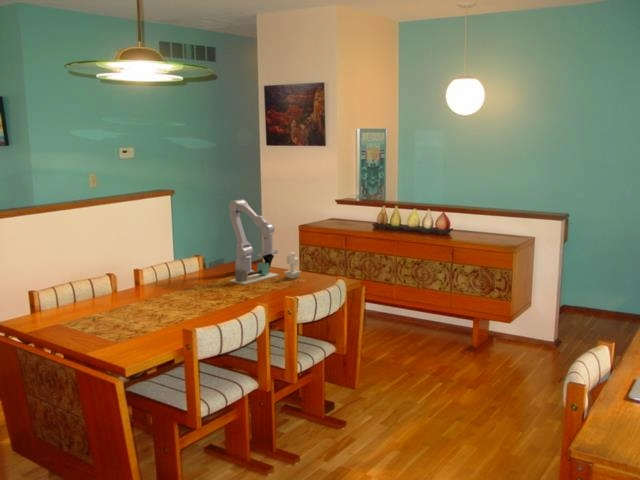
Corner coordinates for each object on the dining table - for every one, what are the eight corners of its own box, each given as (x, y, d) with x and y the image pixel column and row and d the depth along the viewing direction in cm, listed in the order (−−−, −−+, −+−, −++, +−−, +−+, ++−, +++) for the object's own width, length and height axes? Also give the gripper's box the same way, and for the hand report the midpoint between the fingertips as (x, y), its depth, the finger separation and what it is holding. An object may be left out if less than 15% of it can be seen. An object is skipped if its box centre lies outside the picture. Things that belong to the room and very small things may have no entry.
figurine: (302, 276, 376) (302, 251, 373) (293, 280, 368) (292, 254, 365) (292, 275, 380) (292, 250, 377) (283, 278, 372) (282, 253, 369)
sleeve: (257, 274, 376) (257, 263, 375) (264, 272, 380) (263, 262, 379) (263, 275, 373) (262, 264, 372) (269, 273, 377) (269, 263, 376)
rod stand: (230, 281, 365) (229, 269, 364) (265, 272, 386) (265, 261, 385) (244, 284, 357) (244, 273, 356) (279, 275, 378) (279, 264, 377)
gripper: (263, 247, 368) (264, 270, 371) (281, 243, 379) (281, 265, 382) (255, 245, 373) (255, 268, 375) (272, 242, 384) (273, 264, 386)
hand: (268, 267), depth 379 cm, fingers closed
